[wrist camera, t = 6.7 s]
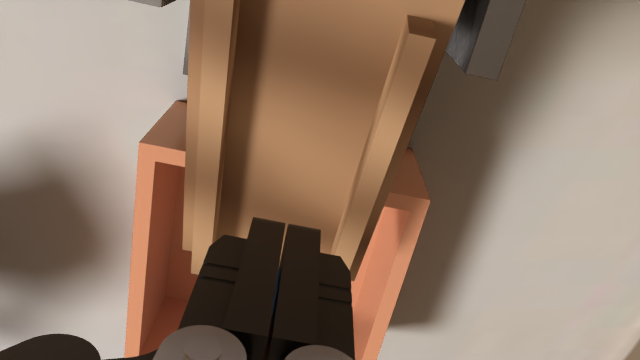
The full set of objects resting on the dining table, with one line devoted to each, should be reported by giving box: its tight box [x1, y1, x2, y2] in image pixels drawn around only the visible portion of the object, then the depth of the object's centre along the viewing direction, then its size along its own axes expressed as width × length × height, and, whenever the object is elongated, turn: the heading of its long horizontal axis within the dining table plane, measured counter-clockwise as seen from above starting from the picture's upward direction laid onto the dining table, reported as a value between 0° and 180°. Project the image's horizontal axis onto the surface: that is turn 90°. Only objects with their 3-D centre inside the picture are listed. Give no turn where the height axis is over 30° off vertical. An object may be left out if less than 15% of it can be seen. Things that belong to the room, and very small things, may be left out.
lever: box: [182, 0, 465, 281], centre depth 16 cm, size 23×8×6 cm, turn 167°
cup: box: [124, 101, 431, 360], centre depth 31 cm, size 14×14×6 cm
